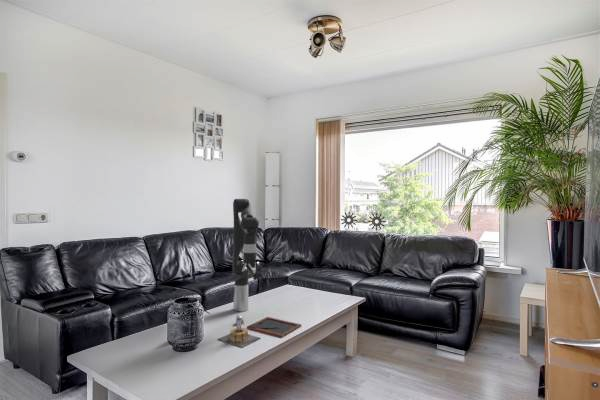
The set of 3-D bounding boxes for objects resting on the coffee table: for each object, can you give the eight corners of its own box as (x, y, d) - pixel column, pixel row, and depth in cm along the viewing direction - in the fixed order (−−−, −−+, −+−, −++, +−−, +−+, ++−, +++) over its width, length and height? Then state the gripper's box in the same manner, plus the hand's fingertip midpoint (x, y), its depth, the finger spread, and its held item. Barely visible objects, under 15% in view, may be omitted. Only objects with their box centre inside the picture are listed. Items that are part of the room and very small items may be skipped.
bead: (234, 324, 208) (234, 319, 208) (239, 322, 212) (239, 317, 212) (239, 325, 206) (239, 320, 206) (245, 323, 209) (245, 318, 209)
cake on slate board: (217, 339, 185) (217, 331, 185) (236, 331, 196) (236, 323, 196) (242, 347, 175) (242, 339, 175) (260, 338, 186) (260, 330, 186)
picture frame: (246, 329, 201) (281, 338, 188) (246, 326, 201) (281, 335, 188) (267, 319, 218) (301, 327, 205) (267, 316, 218) (301, 324, 205)
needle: (235, 338, 185) (235, 316, 185) (238, 337, 187) (238, 314, 187) (238, 339, 184) (238, 317, 184) (242, 338, 186) (242, 315, 186)
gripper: (236, 251, 205) (236, 278, 205) (254, 253, 197) (254, 281, 197) (245, 249, 211) (245, 276, 211) (263, 251, 203) (263, 279, 203)
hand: (249, 278), depth 204 cm, fingers open, 8 cm apart
